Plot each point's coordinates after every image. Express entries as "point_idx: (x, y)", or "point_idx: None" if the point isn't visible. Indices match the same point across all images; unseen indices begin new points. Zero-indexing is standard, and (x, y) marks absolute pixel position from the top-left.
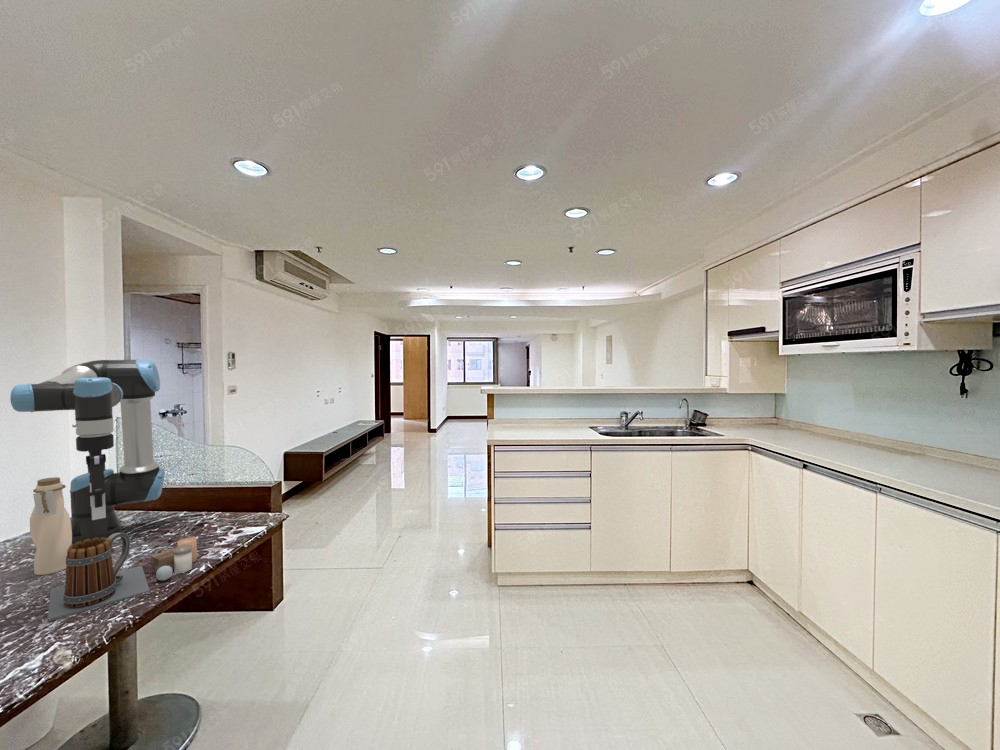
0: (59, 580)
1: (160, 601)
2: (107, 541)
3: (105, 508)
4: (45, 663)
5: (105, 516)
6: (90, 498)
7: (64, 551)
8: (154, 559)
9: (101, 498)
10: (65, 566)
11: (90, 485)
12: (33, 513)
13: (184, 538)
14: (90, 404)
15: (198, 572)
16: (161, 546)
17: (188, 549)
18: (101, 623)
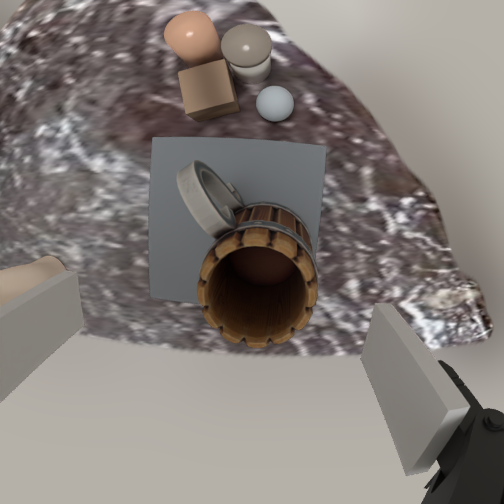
0: (109, 278)
1: (388, 144)
2: (283, 244)
3: (413, 332)
4: (445, 316)
5: (394, 309)
6: (57, 347)
7: (42, 276)
8: (206, 109)
9: (472, 401)
10: (59, 264)
11: (7, 393)
12: None
13: (164, 34)
14: None
15: (292, 47)
16: (66, 100)
17: (268, 34)
18: (394, 244)
